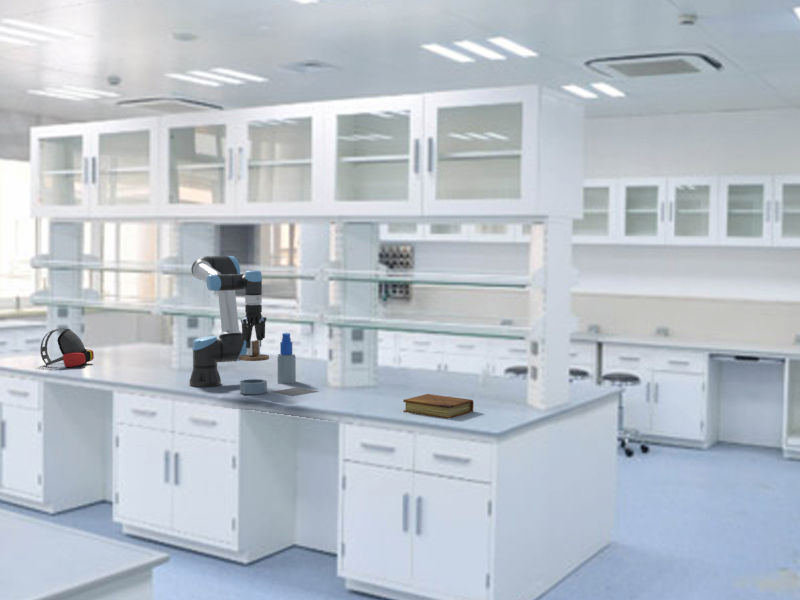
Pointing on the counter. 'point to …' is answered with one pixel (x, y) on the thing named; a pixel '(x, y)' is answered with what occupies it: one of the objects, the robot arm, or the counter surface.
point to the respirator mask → (68, 349)
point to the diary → (438, 406)
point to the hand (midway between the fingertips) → (253, 354)
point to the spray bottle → (286, 361)
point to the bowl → (253, 386)
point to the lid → (254, 354)
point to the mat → (295, 391)
